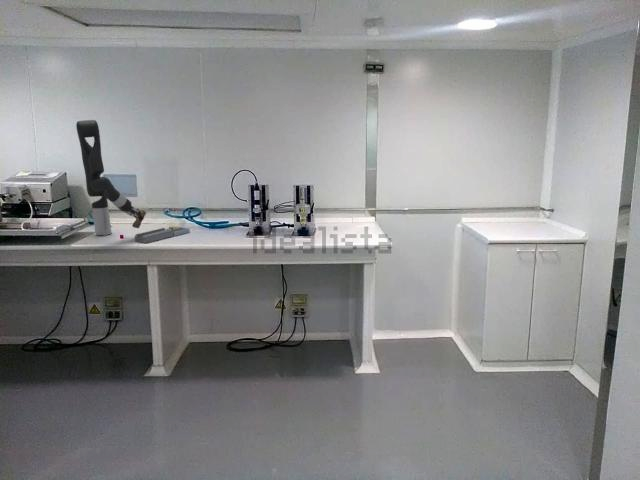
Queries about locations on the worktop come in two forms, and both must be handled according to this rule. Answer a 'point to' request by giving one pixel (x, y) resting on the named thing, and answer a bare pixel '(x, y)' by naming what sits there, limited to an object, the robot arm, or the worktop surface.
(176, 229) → the chip
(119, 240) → the worktop surface
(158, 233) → the slotted plate
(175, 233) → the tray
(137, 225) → the scraper
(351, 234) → the worktop surface
